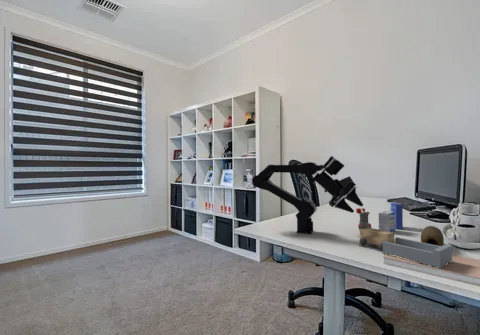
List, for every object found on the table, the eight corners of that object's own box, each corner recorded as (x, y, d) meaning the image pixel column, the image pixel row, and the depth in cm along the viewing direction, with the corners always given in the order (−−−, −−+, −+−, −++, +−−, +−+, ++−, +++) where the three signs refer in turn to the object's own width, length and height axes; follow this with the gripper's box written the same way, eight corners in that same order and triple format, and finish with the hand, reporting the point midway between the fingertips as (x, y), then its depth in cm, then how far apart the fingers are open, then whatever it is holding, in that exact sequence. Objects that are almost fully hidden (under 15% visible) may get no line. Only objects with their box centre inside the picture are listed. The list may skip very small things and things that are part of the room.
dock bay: (356, 246, 92) (356, 232, 92) (370, 242, 98) (370, 229, 98) (439, 268, 71) (439, 251, 71) (452, 261, 77) (451, 245, 77)
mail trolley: (358, 244, 93) (358, 213, 93) (367, 241, 97) (367, 211, 97) (387, 251, 85) (386, 217, 85) (395, 248, 88) (395, 215, 88)
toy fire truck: (364, 234, 109) (363, 212, 109) (356, 227, 122) (355, 207, 122) (372, 235, 108) (372, 212, 108) (363, 227, 122) (363, 207, 122)
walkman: (402, 229, 117) (402, 203, 117) (396, 229, 118) (396, 203, 118) (395, 225, 125) (395, 201, 125) (389, 225, 126) (389, 201, 126)
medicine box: (389, 233, 110) (389, 213, 110) (378, 231, 114) (378, 212, 114) (395, 230, 115) (395, 211, 115) (384, 229, 119) (384, 210, 119)
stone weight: (419, 240, 100) (419, 223, 100) (441, 243, 96) (441, 225, 96) (421, 250, 88) (421, 231, 88) (447, 254, 84) (447, 234, 84)
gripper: (347, 162, 103) (380, 188, 98) (332, 180, 120) (360, 203, 115) (330, 179, 100) (362, 207, 95) (317, 195, 117) (345, 219, 112)
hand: (357, 209), depth 105 cm, fingers open, 9 cm apart
